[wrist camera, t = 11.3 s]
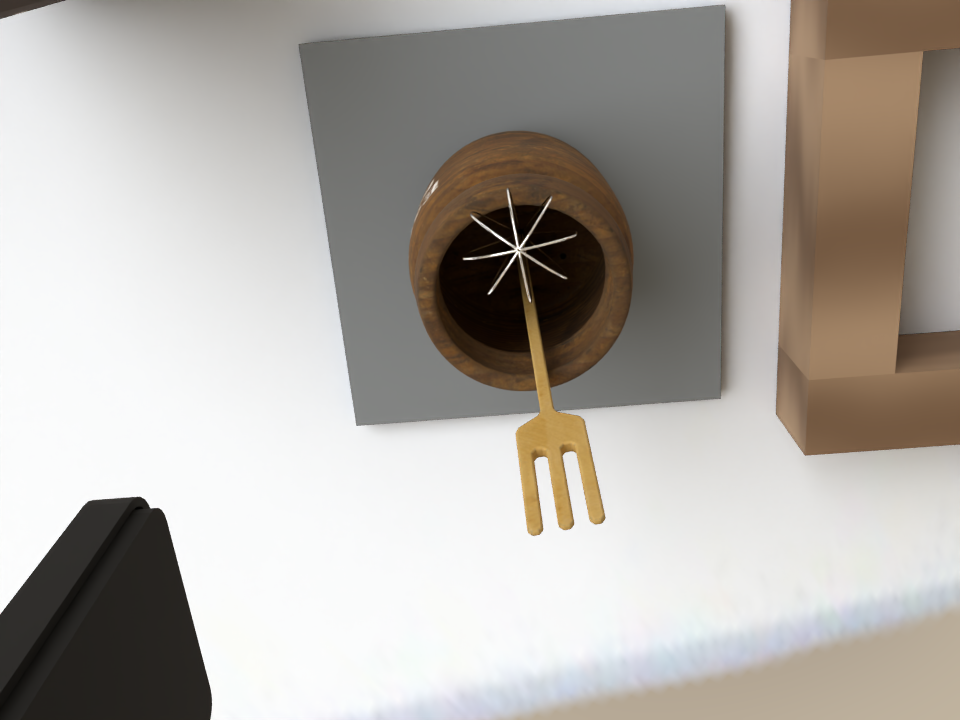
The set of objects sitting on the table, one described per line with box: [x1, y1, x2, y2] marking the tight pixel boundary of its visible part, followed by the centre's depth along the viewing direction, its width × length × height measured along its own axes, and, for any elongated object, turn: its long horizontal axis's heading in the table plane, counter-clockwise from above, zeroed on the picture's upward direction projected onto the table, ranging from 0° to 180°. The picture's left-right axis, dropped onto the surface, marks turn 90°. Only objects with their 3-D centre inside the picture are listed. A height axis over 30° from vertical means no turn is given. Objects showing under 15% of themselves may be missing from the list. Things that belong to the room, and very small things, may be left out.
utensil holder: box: [409, 131, 634, 536], centre depth 22 cm, size 6×6×12 cm
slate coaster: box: [299, 5, 725, 426], centre depth 28 cm, size 12×12×1 cm
